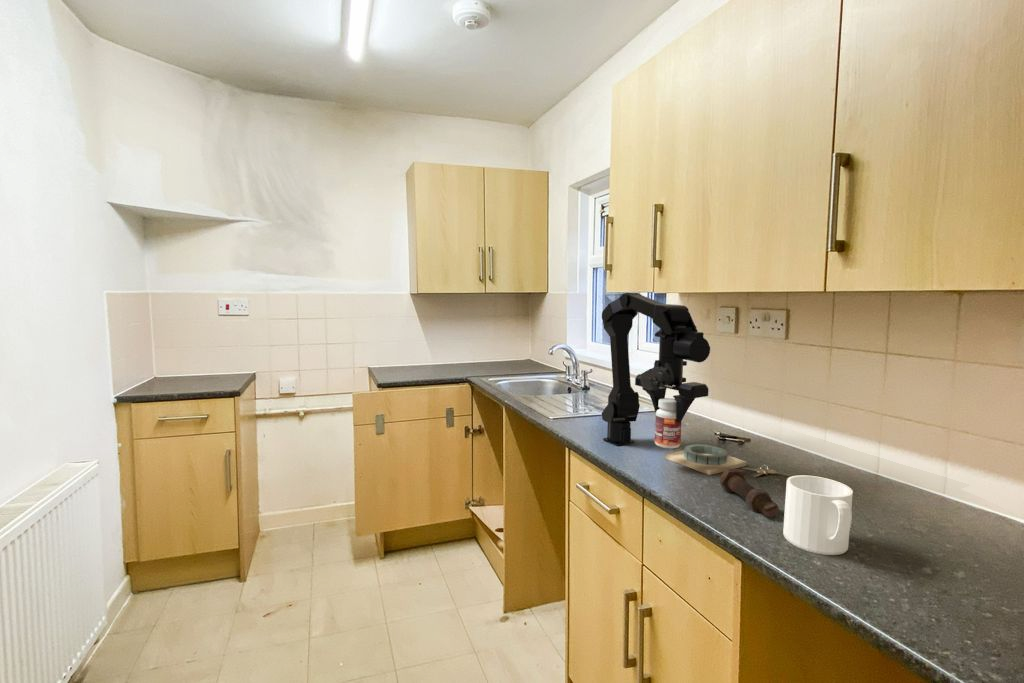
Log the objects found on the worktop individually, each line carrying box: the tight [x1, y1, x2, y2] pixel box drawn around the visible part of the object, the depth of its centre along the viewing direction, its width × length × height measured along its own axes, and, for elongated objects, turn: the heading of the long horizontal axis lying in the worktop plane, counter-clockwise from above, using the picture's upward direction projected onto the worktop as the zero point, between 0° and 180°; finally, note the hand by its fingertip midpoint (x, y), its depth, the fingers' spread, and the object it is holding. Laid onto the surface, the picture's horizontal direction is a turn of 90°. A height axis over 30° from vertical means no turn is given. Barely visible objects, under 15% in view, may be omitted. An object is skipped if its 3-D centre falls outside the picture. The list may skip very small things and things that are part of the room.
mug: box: [782, 474, 854, 556], centre depth 90 cm, size 13×10×10 cm
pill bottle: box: [654, 397, 682, 449], centre depth 127 cm, size 6×6×11 cm
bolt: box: [719, 468, 780, 518], centre depth 107 cm, size 6×5×15 cm
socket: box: [664, 443, 748, 476], centre depth 133 cm, size 14×14×3 cm
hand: (668, 419), depth 127 cm, fingers closed on pill bottle, 6 cm apart
